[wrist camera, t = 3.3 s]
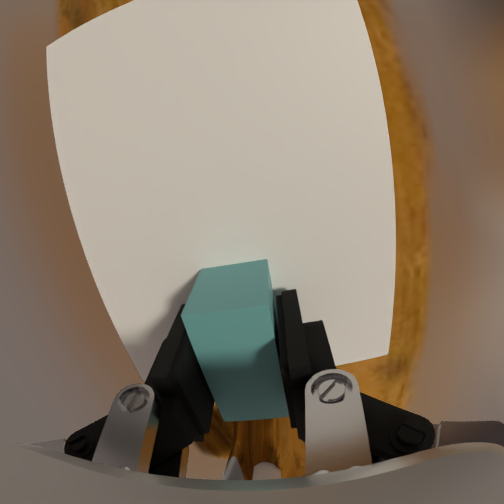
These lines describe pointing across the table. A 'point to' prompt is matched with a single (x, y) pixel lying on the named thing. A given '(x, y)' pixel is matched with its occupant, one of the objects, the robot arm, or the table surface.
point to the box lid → (230, 181)
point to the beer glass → (265, 451)
